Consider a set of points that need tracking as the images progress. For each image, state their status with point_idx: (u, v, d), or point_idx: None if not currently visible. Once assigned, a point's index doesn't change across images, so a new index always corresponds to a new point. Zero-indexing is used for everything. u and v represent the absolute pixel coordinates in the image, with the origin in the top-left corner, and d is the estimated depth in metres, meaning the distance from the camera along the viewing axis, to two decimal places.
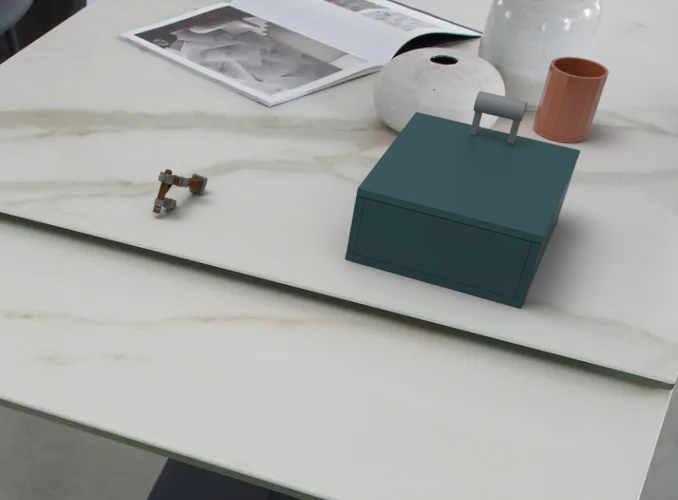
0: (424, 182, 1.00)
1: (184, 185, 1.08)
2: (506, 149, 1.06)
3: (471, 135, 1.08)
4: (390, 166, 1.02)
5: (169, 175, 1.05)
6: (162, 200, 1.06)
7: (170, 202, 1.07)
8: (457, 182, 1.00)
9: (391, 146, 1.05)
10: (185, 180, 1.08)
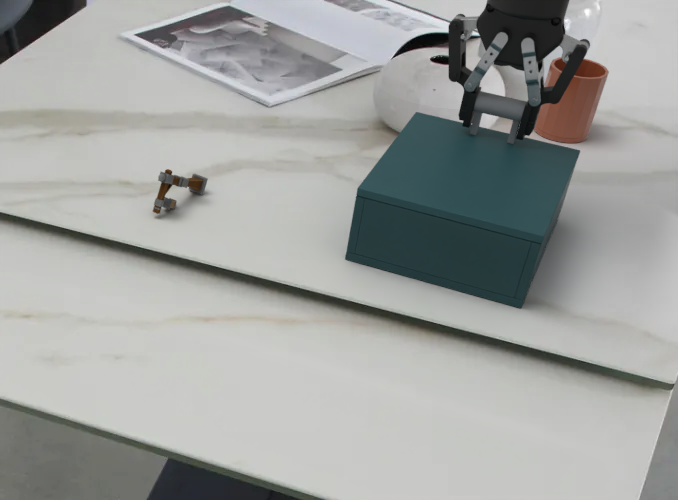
0: (424, 182, 1.00)
1: (184, 185, 1.08)
2: (506, 149, 1.06)
3: (471, 135, 1.08)
4: (390, 166, 1.02)
5: (169, 175, 1.05)
6: (162, 200, 1.06)
7: (170, 202, 1.07)
8: (457, 182, 1.00)
9: (391, 146, 1.05)
10: (185, 180, 1.08)
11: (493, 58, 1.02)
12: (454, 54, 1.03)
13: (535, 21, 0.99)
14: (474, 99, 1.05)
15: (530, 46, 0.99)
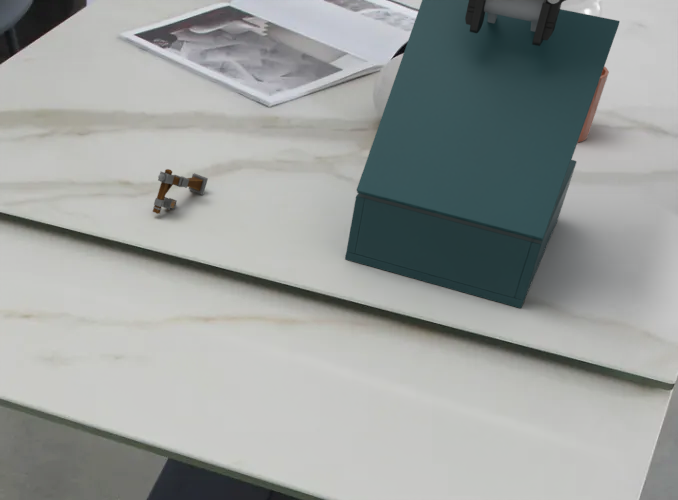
0: (426, 157, 0.96)
1: (184, 185, 1.08)
2: (527, 48, 0.94)
3: (489, 25, 0.95)
4: (391, 132, 0.97)
5: (169, 175, 1.05)
6: (162, 200, 1.06)
7: (170, 202, 1.07)
8: (462, 147, 0.95)
9: (395, 84, 0.97)
10: (185, 180, 1.08)
11: None
12: None
13: None
14: None
15: None
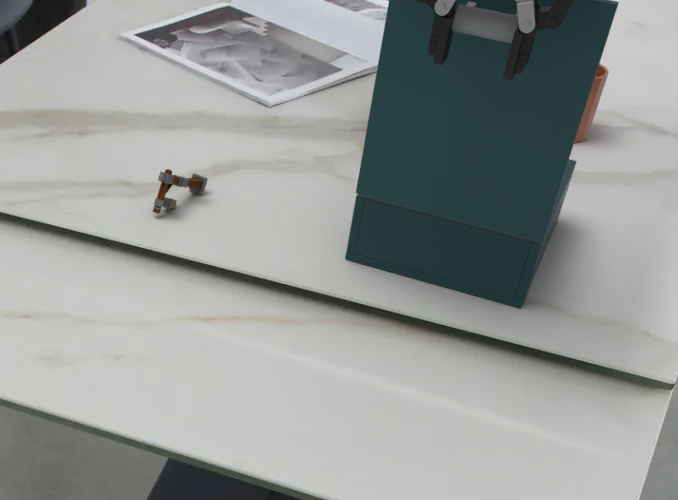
0: (419, 161, 0.93)
1: (184, 185, 1.08)
2: None
3: None
4: (380, 135, 0.93)
5: (169, 175, 1.05)
6: (162, 200, 1.06)
7: (170, 202, 1.07)
8: (454, 151, 0.91)
9: (376, 83, 0.91)
10: (185, 180, 1.08)
11: None
12: None
13: None
14: (448, 26, 0.80)
15: None
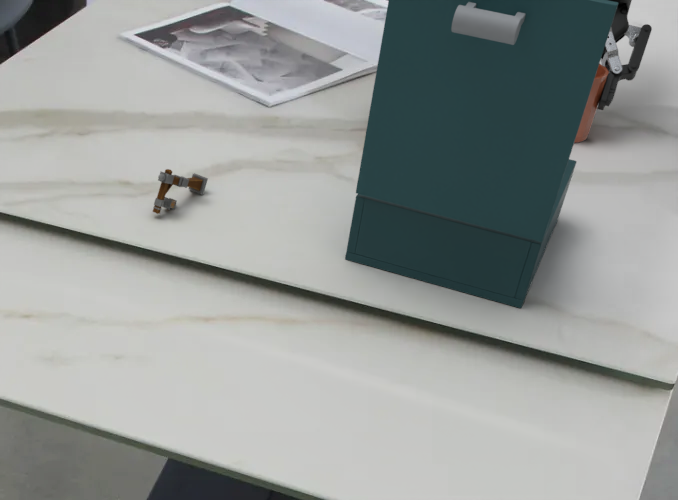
0: (419, 161, 0.93)
1: (184, 185, 1.08)
2: None
3: None
4: (380, 135, 0.93)
5: (169, 175, 1.05)
6: (162, 200, 1.06)
7: (170, 202, 1.07)
8: (454, 151, 0.91)
9: (376, 84, 0.91)
10: (185, 180, 1.08)
11: None
12: None
13: None
14: None
15: None
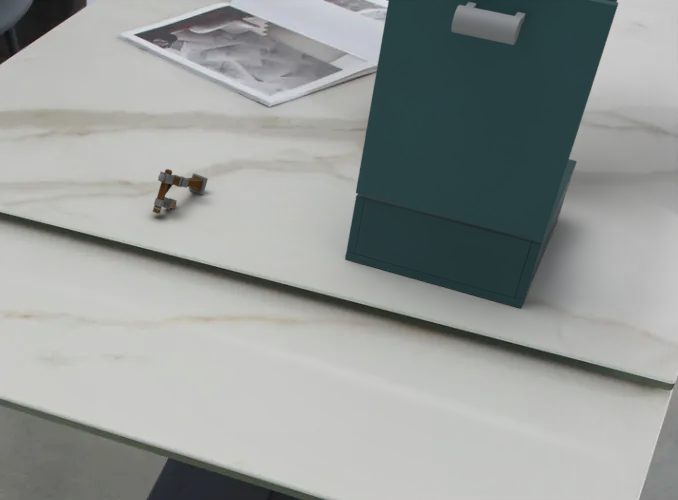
0: (419, 161, 0.93)
1: (184, 185, 1.08)
2: None
3: None
4: (380, 135, 0.93)
5: (169, 175, 1.05)
6: (162, 200, 1.06)
7: (170, 202, 1.07)
8: (454, 151, 0.91)
9: (376, 84, 0.91)
10: (185, 180, 1.08)
11: None
12: None
13: None
14: None
15: None
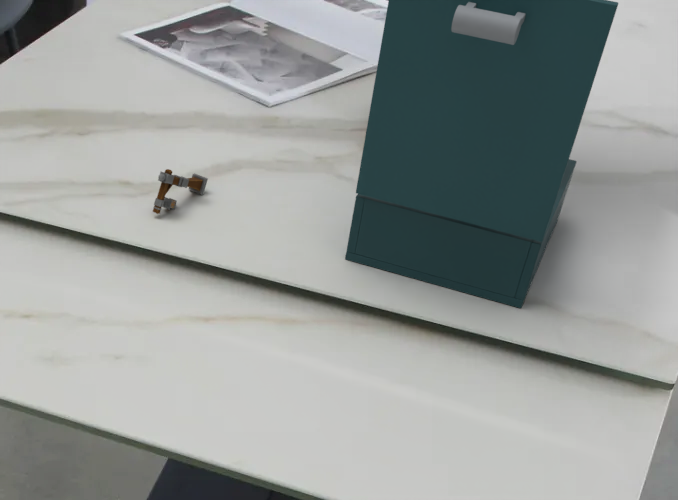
0: (419, 161, 0.93)
1: (184, 185, 1.08)
2: None
3: None
4: (380, 135, 0.93)
5: (169, 175, 1.05)
6: (162, 200, 1.06)
7: (170, 202, 1.07)
8: (454, 151, 0.91)
9: (376, 84, 0.91)
10: (185, 180, 1.08)
11: None
12: None
13: None
14: None
15: None
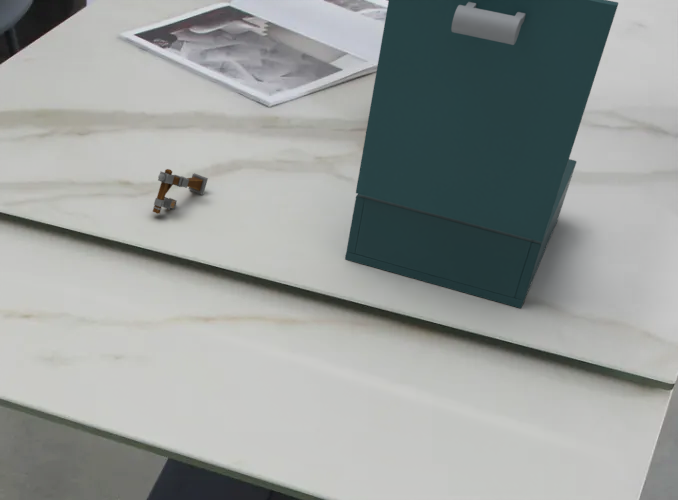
0: (419, 161, 0.93)
1: (184, 185, 1.08)
2: None
3: None
4: (380, 135, 0.93)
5: (169, 175, 1.05)
6: (162, 200, 1.06)
7: (170, 201, 1.07)
8: (454, 151, 0.91)
9: (376, 84, 0.91)
10: (185, 180, 1.08)
11: None
12: None
13: None
14: None
15: None
